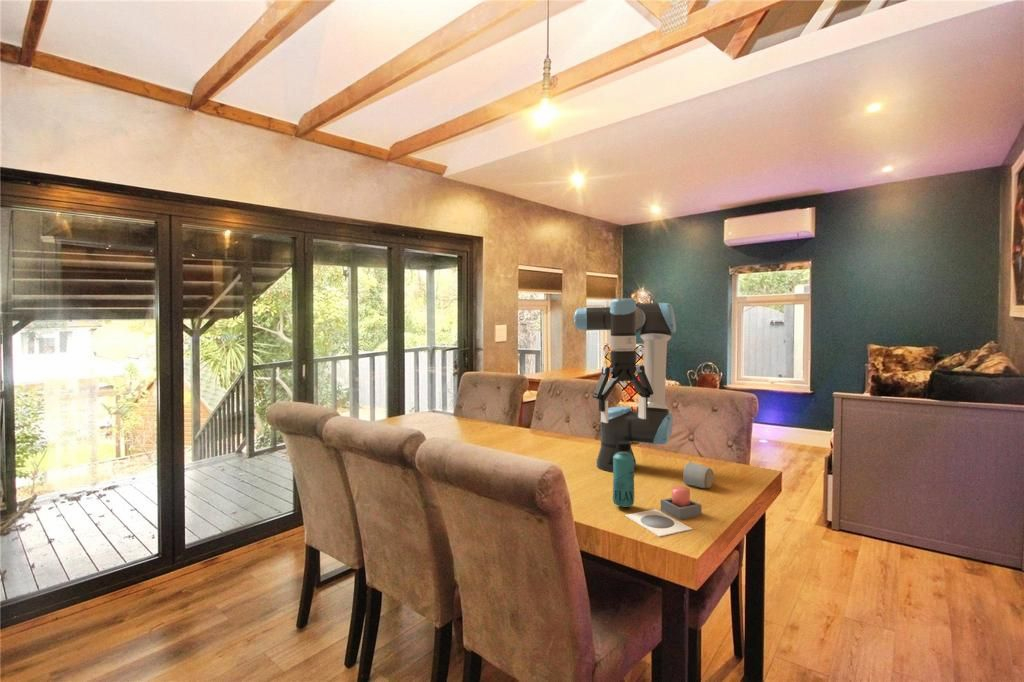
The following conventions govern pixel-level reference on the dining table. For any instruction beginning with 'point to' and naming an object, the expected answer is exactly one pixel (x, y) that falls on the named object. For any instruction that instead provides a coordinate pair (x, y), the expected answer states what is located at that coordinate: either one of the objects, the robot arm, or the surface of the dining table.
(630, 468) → the beverage bottle
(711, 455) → the dining table surface
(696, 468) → the ceramic mug
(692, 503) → the button base
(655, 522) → the paper card
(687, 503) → the button
